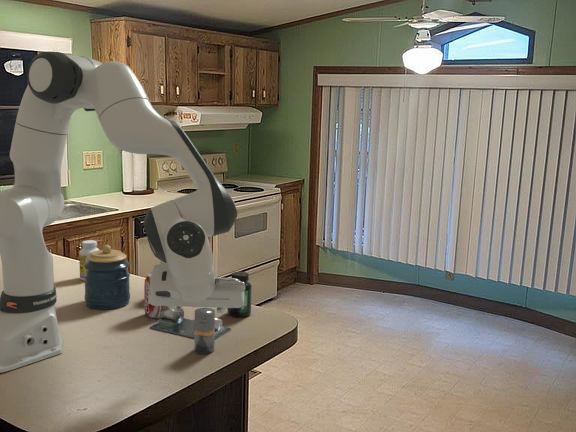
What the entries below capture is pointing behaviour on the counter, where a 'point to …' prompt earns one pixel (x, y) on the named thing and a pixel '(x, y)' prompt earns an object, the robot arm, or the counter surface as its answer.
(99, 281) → the canister
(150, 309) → the soda can
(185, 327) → the shaft station
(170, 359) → the counter surface
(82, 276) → the supplement bottle
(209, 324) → the sleeve
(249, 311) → the supplement bottle
